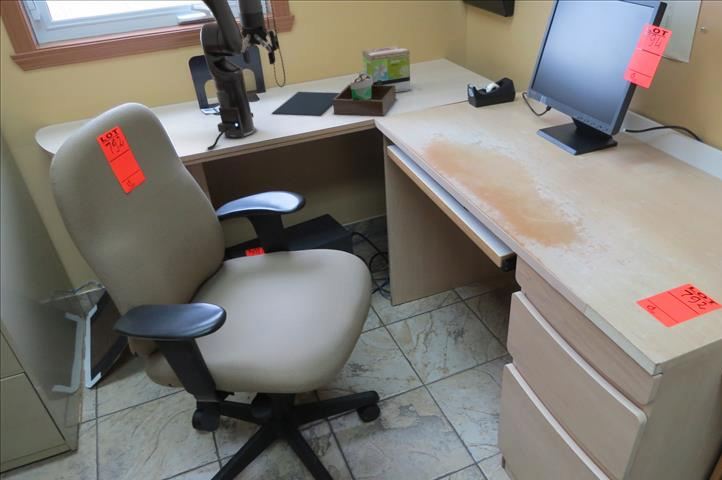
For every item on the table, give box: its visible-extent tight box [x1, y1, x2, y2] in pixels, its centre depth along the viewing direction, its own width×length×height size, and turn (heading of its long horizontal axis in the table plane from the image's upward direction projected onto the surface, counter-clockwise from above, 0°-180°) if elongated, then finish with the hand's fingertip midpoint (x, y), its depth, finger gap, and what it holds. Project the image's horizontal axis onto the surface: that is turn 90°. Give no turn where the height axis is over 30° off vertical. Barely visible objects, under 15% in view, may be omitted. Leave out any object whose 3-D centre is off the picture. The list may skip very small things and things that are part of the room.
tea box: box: [362, 45, 411, 93], centre depth 206 cm, size 15×10×15 cm
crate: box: [332, 83, 397, 117], centre depth 195 cm, size 18×18×5 cm
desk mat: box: [271, 91, 340, 117], centre depth 202 cm, size 24×18×1 cm
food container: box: [350, 72, 373, 100], centre depth 193 cm, size 12×6×10 cm, turn 168°
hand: (260, 63), depth 182 cm, fingers open, 8 cm apart
